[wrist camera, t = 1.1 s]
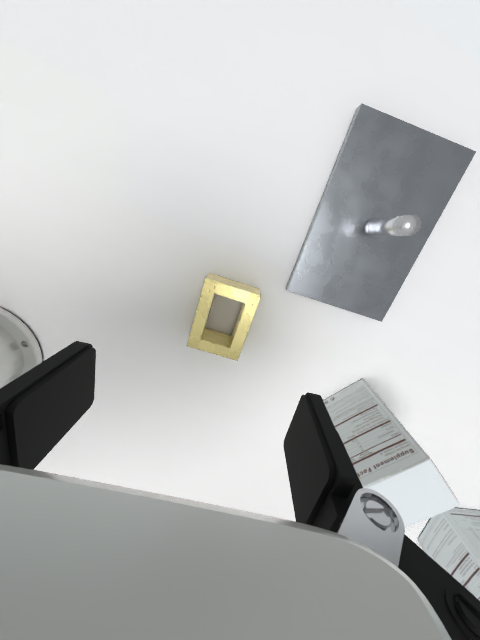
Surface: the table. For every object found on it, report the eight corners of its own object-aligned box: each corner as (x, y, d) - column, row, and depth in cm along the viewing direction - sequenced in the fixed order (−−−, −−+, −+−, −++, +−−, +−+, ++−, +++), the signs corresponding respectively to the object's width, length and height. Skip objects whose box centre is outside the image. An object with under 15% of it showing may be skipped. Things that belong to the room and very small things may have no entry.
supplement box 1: (386, 412, 34) (463, 507, 22) (339, 436, 36) (388, 537, 24) (363, 376, 32) (433, 458, 20) (314, 402, 34) (354, 494, 22)
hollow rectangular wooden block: (238, 347, 31) (237, 360, 28) (192, 333, 30) (186, 345, 27) (258, 288, 28) (261, 295, 25) (209, 272, 28) (205, 277, 25)
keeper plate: (377, 318, 30) (416, 342, 23) (285, 288, 28) (299, 305, 22) (466, 154, 24) (552, 124, 17) (356, 109, 23) (403, 57, 16)
